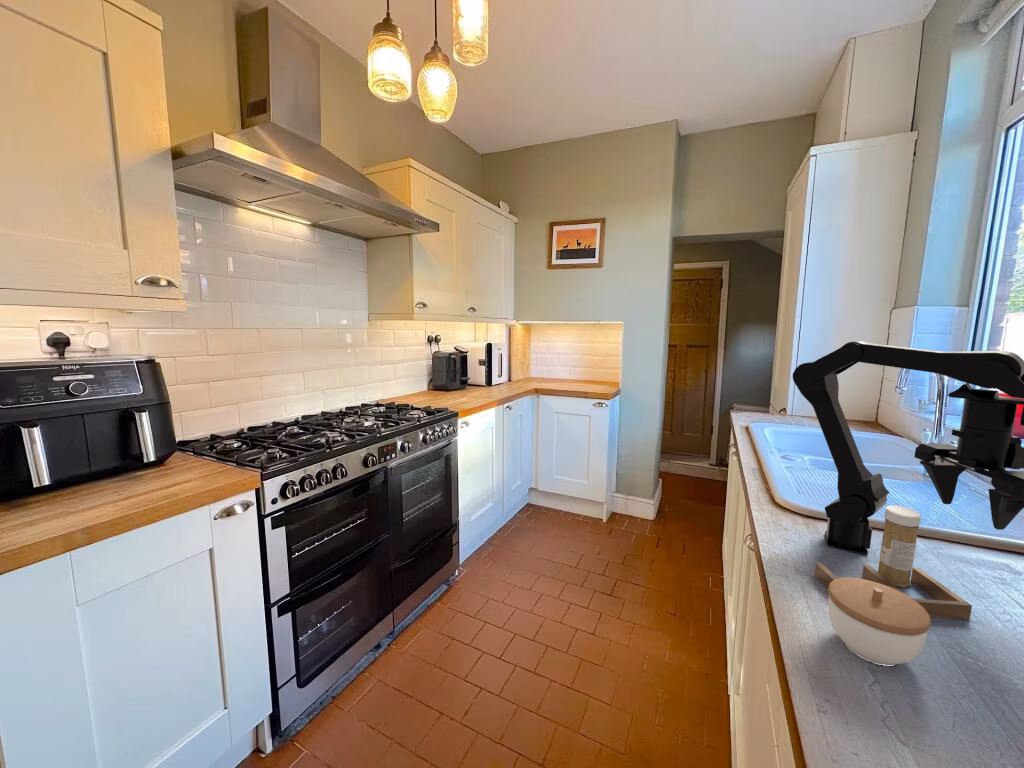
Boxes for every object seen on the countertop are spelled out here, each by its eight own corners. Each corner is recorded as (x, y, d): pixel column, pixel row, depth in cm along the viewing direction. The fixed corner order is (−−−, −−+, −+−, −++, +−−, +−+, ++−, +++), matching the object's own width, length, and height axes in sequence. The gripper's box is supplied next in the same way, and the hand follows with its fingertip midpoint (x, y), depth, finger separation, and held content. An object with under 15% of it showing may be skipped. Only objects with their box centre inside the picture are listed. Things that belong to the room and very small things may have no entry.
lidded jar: (807, 635, 62) (813, 578, 60) (850, 614, 66) (856, 560, 65) (895, 693, 52) (905, 627, 51) (939, 664, 56) (949, 602, 55)
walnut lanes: (814, 574, 76) (815, 562, 76) (916, 580, 74) (918, 568, 74) (850, 612, 66) (852, 598, 66) (969, 619, 64) (972, 605, 64)
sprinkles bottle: (875, 570, 77) (884, 502, 75) (908, 578, 75) (918, 508, 72) (877, 582, 74) (887, 511, 72) (912, 592, 71) (923, 519, 69)
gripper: (1117, 445, 58) (1094, 548, 61) (984, 415, 76) (971, 494, 79) (1026, 443, 59) (1008, 544, 62) (917, 414, 78) (906, 492, 80)
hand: (971, 515), depth 71 cm, fingers open, 9 cm apart
